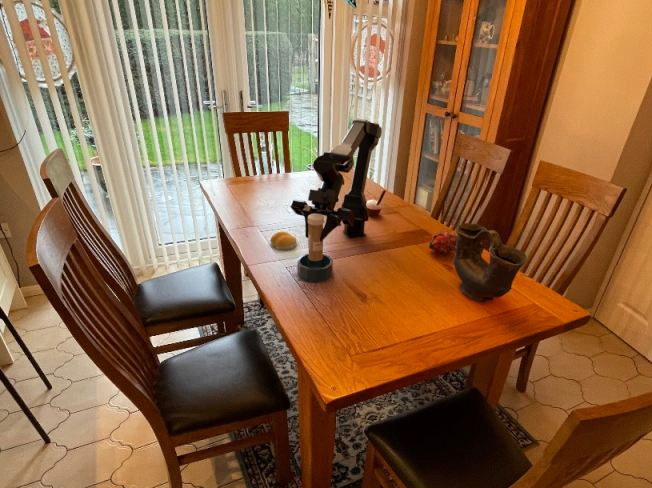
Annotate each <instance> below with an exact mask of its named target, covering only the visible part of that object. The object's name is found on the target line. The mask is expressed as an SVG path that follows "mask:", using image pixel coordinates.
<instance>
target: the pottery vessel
mask: <svg viewBox="0 0 652 488" xmlns="http://www.w3.org/2000/svg"><path fill="white" fill-rule="evenodd" d="M454 230H455V234H456V236H457V241H456V246H455V248H456V249H455V250H456V251H454V252H455V253H454V257H453V258H452V259H453V260H452V264H453V266H454V270H455V272H456V274H457V276H458V277H459V280H460V281H461V283H460V285H459V289H460V292H461V293H462V294H463V295H464V296H465V297H466V298H468V299H470V300H471V301H475V302H476V303H481V304H486V303H487V302H492V301H494V299H495V298H501V297H503V296H506V294H508V293H509V292H510V291H511V290H512V286H513V281H514V280H515V278H516V276H517V274H518V273H519V271H520V270H521V268H522V267H523V266H524V265H525V264H526V262H527V259H528V257H527V255H526V253H524V252H523V251H522V250H521V249H518V248H517V247H513V246H510V245H505V244H503V241H502V239H501V235H500V234H499V233H498V232H497V231H496V230H494V229H490V230H488V228H486V227H484V226H483V225H480V224H477V223H469V222H463V223H462V224H458V225H457V226H455V228H454ZM488 239H489V240H490V242H489V247H488V249H487V250H488V252H489V253H488V254H489V262H488V261H487V260H486V259H485V258H483V256H482V255H483V252H484V250H485V246H486V243H487V240H488Z"/></svg>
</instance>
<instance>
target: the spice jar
mask: <svg viewBox="0 0 652 488" xmlns="http://www.w3.org/2000/svg"><path fill="white" fill-rule="evenodd" d="M324 222H325V217H324V215H321V214H310V215H309V216H308V238H307V248H308V254H309V256H308V258H309V259H310V260H312V261H319V260H322V259H323V254H324V240H323V241H320V237H321V234H322V231H323V229H324Z"/></svg>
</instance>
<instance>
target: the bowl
mask: <svg viewBox="0 0 652 488" xmlns="http://www.w3.org/2000/svg"><path fill="white" fill-rule="evenodd" d="M308 256H309V253H305V254H303V255H301V256H299V257H298V259H297V261H296V263H297V268H296V269H297V276H298V277H299V279H300V280H302V281H304V282H307V283H312V284H313V283H315V284H316V283H317V284H318V283H324V282H327V281H329V280H330V279H332V277H333V274H334V273H333V271H334V260H333V258H332V257H331V256H329V255H327V254H325V253H323V259H322V260H319V261H312V260H310V259H309V258H308Z"/></svg>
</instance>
